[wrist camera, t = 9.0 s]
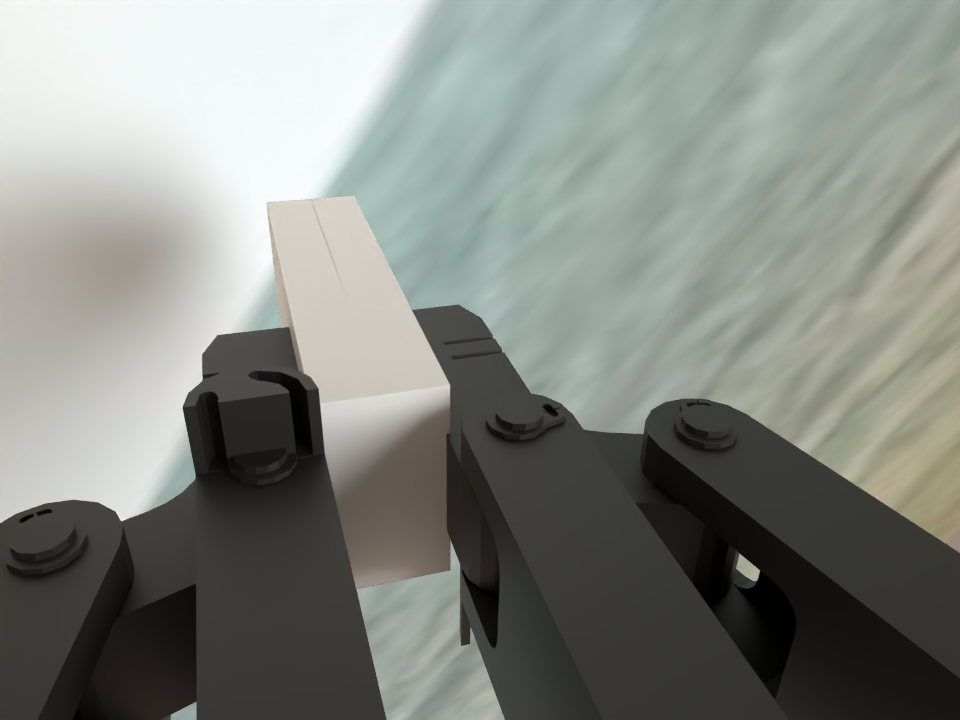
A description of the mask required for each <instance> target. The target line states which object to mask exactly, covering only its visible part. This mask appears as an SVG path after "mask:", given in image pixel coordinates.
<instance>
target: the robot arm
mask: <svg viewBox="0 0 960 720" xmlns="http://www.w3.org/2000/svg"><path fill="white" fill-rule="evenodd" d="M267 212H268V220H269V229H270V237H271V246H272V254H273V263H274V271H275V280H276V288H277V297H278V305H279V314H280V322H281V328H276V329H267V330H258V331H250V332H241V333H233V334H224V335H217V337H216V338H215V339H214V340H213V342H212V343H211V344H210V345H209V347H208V348H207V349H206V351H205V352H204V353H203V354H202V372H203V381H202V382H201V383H200V384H199V385H197V386H196V387H195V388H194V389H193V390H192V391H190V392H189V393H188V395H187V398H186V400H185V403H184V405H183V412H184V417H185V422H186V427H187V432H188V437H189V442H190V447H191V452H192V458H193V463H194V468H195V473H196V479H195V480H194V482H193V483H192V484H190V485H189V486H188V487H187V488H186V489H185V490H184V491H183V492H182V493H181V494H179V495H178V496H176V497H175V498H173V499H172V500H170V501H169V502H167V503H165V504H163V505H161V506H159V507H157V508H154V509H152V510H150V511H148V512H145V513H143V514H140V515H137V516H135V517H132V518H129V519H127V520H124V521H120V519H119V517H118V515H117V514H116V512H115V511H113V510H111V509H109V508H107V507H105V506H104V505H102V504H100V503H97V502H88V501H79V500H69V501H61V502H54V503H47V504H43V505H40V506H37V507H34V508H31V509H29V510H26V511H23V512H20V513H17V514H15V515H13V516H12V517H10V518H8V519H7V520H5V521H3V522H2V523H0V720H170V718H171V714H173V713H175V712H177V711H179V710H181V709H183V708H185V707H186V706H188V705H190V704H192V703H194V702H196V701H197V720H386V716H385V712H384V707H383V703H382V699H381V694H380V690H379V686H378V681H377V677H376V673H375V668H374V664H373V660H372V655H371V651H370V647H369V642H368V638H367V634H366V629H365V625H364V621H363V616H362V612H361V608H360V603H359V599H358V595H357V590H356V589H360V588H365V587H370V586H375V585H379V584H384V583H389V582H394V581H399V580H404V579H409V578H414V577H419V576H424V575H429V574H434V573H439V572H444V571H449V570H450V539H451V542H452V544H453V547H454V549H455V552H456V555H457V557H458V560H459V562H460V637H461V646H462V645H467V644H470V627H471V628H472V631H473V634H474V636H475V639H476V642H477V644H478V647H479V650H480V653H481V655H482V658H483V661H484V663H485V666H486V669H487V672H488V674H489V677H490V680H491V683H492V685H493V688H494V691H495V693H496V696H497V699H498V702H499V704H500V707H501V710H502V713H503V715H504V718H505V720H960V553H959V552H957V551H955V550H954V549H953V548H951V547H949V546H948V545H947V544H945V543H943V542H942V541H940V540H939V539H937V538H936V537H934V536H933V535H931V534H930V533H928V532H927V531H925V530H923V529H922V528H920V527H919V526H917V525H916V524H914V523H913V522H911V521H910V520H908V519H907V518H905V517H904V516H902V515H900V514H899V513H897V512H896V511H894V510H893V509H891V508H890V507H888V506H887V505H885V504H884V503H882V502H880V501H879V500H877V499H876V498H874V497H873V496H871V495H870V494H868V493H867V492H865V491H864V490H862V489H860V488H859V487H857V486H856V485H854V484H853V483H851V482H850V481H848V480H847V479H845V478H844V477H842V476H840V475H839V474H837V473H836V472H834V471H833V470H831V469H830V468H828V467H827V466H825V465H824V464H822V463H821V462H819V461H817V460H816V459H814V458H813V457H811V456H810V455H808V454H807V453H805V452H804V451H802V450H801V449H799V448H797V447H796V446H794V445H793V444H791V443H790V442H788V441H787V440H785V439H784V438H782V437H781V436H779V435H777V434H776V433H774V432H773V431H771V430H770V429H768V428H767V427H765V426H764V425H762V424H761V423H759V422H757V421H756V420H754V419H753V418H751V417H750V416H748V415H747V414H745V413H743V412H741V411H739V410H736V409H734V408H732V407H730V406H728V405H725V404H721V403H717V402H713V401H710V400H705V399H680V400H675V401H669V402H665V403H663V404H661V405H660V406H658V407H656V408H654V409H653V410H651V412H650V414H649V416H648V417H647V419H646V421H645V428H644V434H627V433H606V432H597V431H588V430H584V429H583V428H582V427H581V425H580V424H579V423H578V421H577V420H576V418H575V417H574V416H573V414H572V413H571V412H569V411H568V410H567V409H566V408H565V407H564V406H563V405H562V404H561V403H558V402H556V401H554V400H551V399H549V398H547V397H544V396H541V395H535V394H531V393H530V391H529V390H528V388H527V387H526V385H525V384H524V382H523V381H522V379H521V378H520V376H519V375H518V373H517V372H516V370H515V369H514V367H513V365H512V364H511V362H510V361H509V359H508V358H507V356H506V355H505V353H502V349H501V347H500V346H499V344H498V343H497V341H496V340H495V339H493V335H492V334H491V332H490V331H489V329H488V328H487V326H486V325H485V323H484V322H483V320H482V319H481V318H480V317H478V316H477V315H475V314H473V313H472V312H470V311H468V310H466V309H465V308H463V307H461V306H460V305H452V306H443V307H435V308H426V309H417V310H412V309H411V307H410V305H409V303H408V301H407V299H406V298H405V296H404V294H403V292H402V290H401V288H400V286H399V284H398V282H397V280H396V278H395V276H394V274H393V272H392V270H391V268H390V266H389V264H388V262H387V260H386V258H385V256H384V254H383V252H382V250H381V248H380V246H379V244H378V242H377V240H376V239H375V237H374V235H373V233H372V231H371V229H370V227H369V225H368V223H367V221H366V219H365V217H364V215H363V213H362V211H361V209H360V207H359V205H358V203H357V201H356V199H355V197H354V196H345V197H332V198H319V199H306V200H293V201H281V202H268V203H267ZM739 553H740V554H741V555H742V556H743V557H745V558H746V559H747V560H748V561H750V562H751V563H752V564H753V565H754V566H756V567H757V568H758V569H759V570H760V574H759V578H758V580H757V582H756V581H752V580H750V579H749V578H747V577H745V576H744V575H743V574H742V573H740V572H739V571H738V570H737V569H736V566H737V562H738V558H739Z"/></svg>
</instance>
